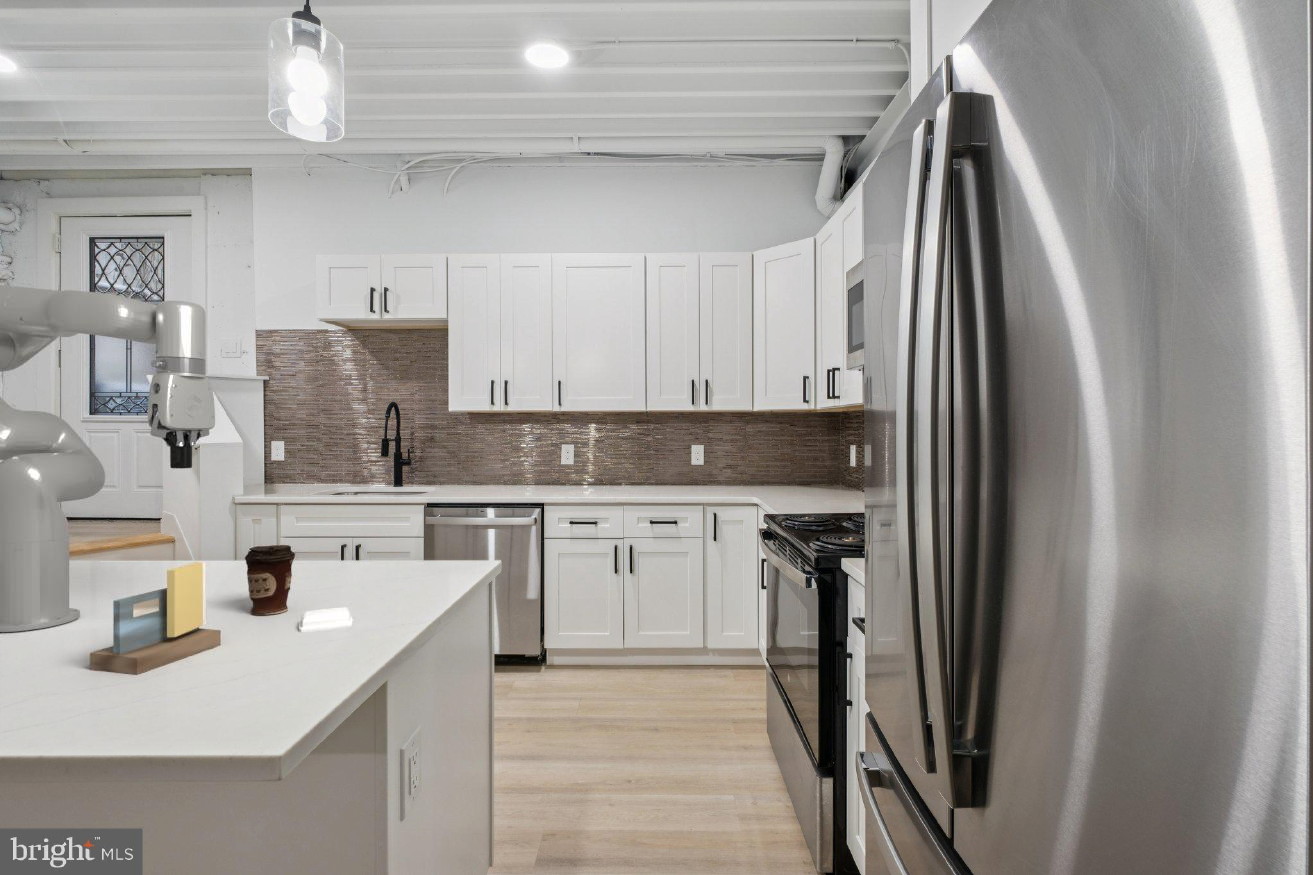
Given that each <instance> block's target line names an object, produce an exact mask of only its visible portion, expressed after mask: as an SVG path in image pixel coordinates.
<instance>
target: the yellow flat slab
mask: <svg viewBox="0 0 1313 875" xmlns="http://www.w3.org/2000/svg"><path fill="white" fill-rule="evenodd" d="M206 567H207V565H206V561H196V562H192V563H188V564H186V565H182V566H179V567H175V568H171V569H168V570H166V588H167V637H176V636H179V635H181V634H184V633H186V632H188V631H191V630H193V629H195V628H198V627H199V628H200V627H203V626H205V625H206V624H207V623H206V618H207V617H206V616H207V615H206V613H207V612H206V610H207V608H206V603H207V602H206V601H207V600H206V598H207V596H206V587H207V586H206V585H207V584H206V580H207V579H206V573H207V570H206Z"/></svg>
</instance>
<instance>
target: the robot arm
mask: <svg viewBox="0 0 1313 875" xmlns="http://www.w3.org/2000/svg"><path fill="white" fill-rule="evenodd" d="M206 319H207V315H206V311H205V308H204V307H203V306H201V305H200V304H197V303H194V302H191V301H182V300H164V301H161V302H159V303H158V304H154V303H150V302H146V301H142V300H138V299H135V298H131V297H127V296H122V295H118V294H117V295H116V294H111V293H107V292H106V293H105V292H94V291H86V290H85V291H83V290H75V289H74V290H72V289H65V290H59V289H58V290H56V289H45V288H37V287H36V288H35V287H26V286H25V287H24V286H18V285H17V286H15V285H5V284H4V285H3V284H1V285H0V372H1V373H3V372H10V371H12V370H15V369H18V368H19V367H22V366H23V365H24V364H26V363H27V362H28V361H30V360H31V359H33V357H35V356H37V355H38V354H39V353H40V352H42V351H43V350H44V349H45V348H46V347H48V346H49V345H51V344H52V343H53V342H54V341H56V340H57V339H58V338H71V337H74V336H76V335H78V334H84V335H91V336H101V337H107V338H113V339H114V338H115V339H121V340H124V341H125V340H127V341H132V342H137V343H141V344H149V345H150V344H151V345H155V359H153V360H152V361H151V362H150V364H151V367H152V368H155V374H153V375H152V378H151V382H150V388H149V391H148V401H147V422H148V426H149V428H150V432H149V433H150V435H151V436H152V437H157V438H161V439H162V440H163V441H164V442H165V444H166V446H167V447H169V462H170V463H169V464H170V468H171V469H192V467H193V448H194V447H196V445H197V442H198V441H199V439H200V438H205V437H208V436H209V435H210V433H211V432H210V430H212V429H214V428H215V425H216V409H215V398H214V393H213V392H214V391H213V386H212V383H211V380H210V378H208V377H207V376H206V374H207V372H206V365H207V364H206V358H207V357H206V349H207V348H206V345H207V344H206V342H207V341H206V339H207V338H206V334H207V333H206V331H207V330H206V327H207V326H206V323H207V322H206ZM0 461H1V462H0V633H13V632H24V631H32V630H39V629H40V630H41V629H45V628H51V627H56V626H59V625H64V624H67V623H71V622H72V621H73V622H74V621H75V620H77V619H78V618H80V617H81V610H80V609H77V608H74V607H70V529H69V526H70V525H69V522H68V519H67V517H66V514H65V512H64V511H63V510H62V507H61V506H60V504H59V503H62V502H63V503H64V502H71V501H79V500H84V499H88V498H91V497H94V496H95V495H97V494H98V493H99V492H100V491H101V490H102V489H103V487H104V485H105V483H106V472H105V467H104V465H103V464H102V462H101V461H100V459H99V458H98V457H97V455H96V454H95V453H94V452H93V450H91V448H90V447H89V445H87V444H86V442H85V441H84V440H83V439H82V438H81V437H80V435H79V434H78V433H77V432H76V430H74V429H73V427H72V426H71V425H70V424H69V423H68V422H67V421H65V420H64V419H63V418H62V417H60V416H58V415H56V414H53V413H52V412H51V413H50V412H46V411H37V410H22V409H18V408H15V407H12V406H11V405H9V404H8V403H7V402H6V401H5V400H4V399H3V398H2V396H0Z"/></svg>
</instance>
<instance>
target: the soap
mask: <svg viewBox="0 0 1313 875" xmlns="http://www.w3.org/2000/svg"><path fill="white" fill-rule="evenodd" d="M353 621H354V620H353V617H352V615H351V612H350V610H349V609H348V607H346V606H344V607H334V608H330V607H329V608H321V609H315V610H308V611H307V610H306V611H304V612H303V613H302V615H301V618H300V621H299V623H298V631H299V633H311V632H312V633H313V632H318V631H319V632H320V631H328V630H335V629H344V628H351V627H352V626H353V623H354V622H353Z"/></svg>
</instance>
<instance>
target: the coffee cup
mask: <svg viewBox="0 0 1313 875" xmlns="http://www.w3.org/2000/svg"><path fill="white" fill-rule="evenodd" d="M291 548H292V546H291V545H289V544H288V545H287V544H279V545H273V544H272V545H265V546H263V545H262V546H261V545H260V546H258V545H257V546H253V547H249V548H248V552H247V554H246V555H245V556H244V560H245V563H246V564H245V565H246V567H247V571H246V575H247V577H246V578H247V585H248V596H249V598H250V601H251V602H252V607H251V610H250V613H251V614H252V615H257V616H258V615H259V616H260V615H261V616H262V615H263V616H264V615H267V616H268V615H277V614H282V613H285V612H288V611H289V607H288V605H287V602H288V598H289V592H290V590H291V583H292V577H293V574H292V565H293V562H294V559H295V557H296V552H294V551H292V549H291Z"/></svg>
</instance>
